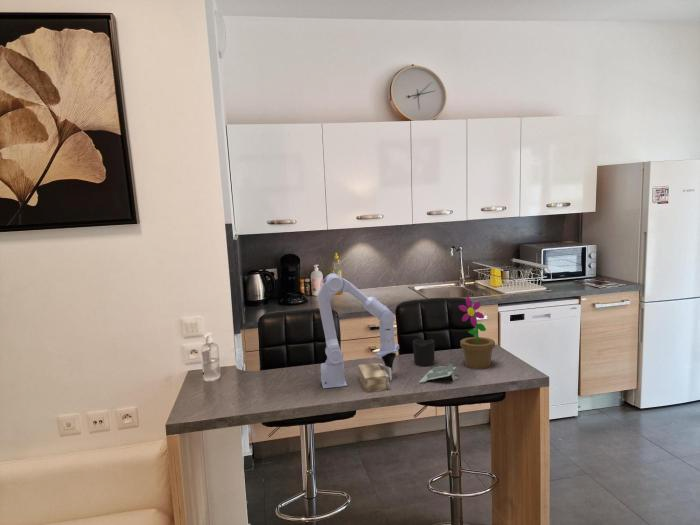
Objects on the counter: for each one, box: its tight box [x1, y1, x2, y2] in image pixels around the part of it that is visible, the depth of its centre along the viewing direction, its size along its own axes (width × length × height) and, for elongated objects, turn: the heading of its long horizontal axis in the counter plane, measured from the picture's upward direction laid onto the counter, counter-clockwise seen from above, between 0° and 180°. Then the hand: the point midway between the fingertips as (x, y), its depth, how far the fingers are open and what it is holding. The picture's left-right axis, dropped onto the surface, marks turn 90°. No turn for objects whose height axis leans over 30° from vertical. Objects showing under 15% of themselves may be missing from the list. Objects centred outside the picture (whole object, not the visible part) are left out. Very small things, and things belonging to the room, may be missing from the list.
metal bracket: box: [418, 364, 458, 384], centre depth 193 cm, size 14×6×15 cm
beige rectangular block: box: [357, 362, 390, 393], centre depth 191 cm, size 10×16×6 cm, turn 9°
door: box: [378, 363, 393, 382], centre depth 196 cm, size 1×8×5 cm, turn 32°
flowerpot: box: [458, 296, 496, 369], centre depth 205 cm, size 14×14×30 cm
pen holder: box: [412, 338, 435, 367], centre depth 212 cm, size 9×9×10 cm
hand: (389, 370), depth 196 cm, fingers closed, pressing on door
